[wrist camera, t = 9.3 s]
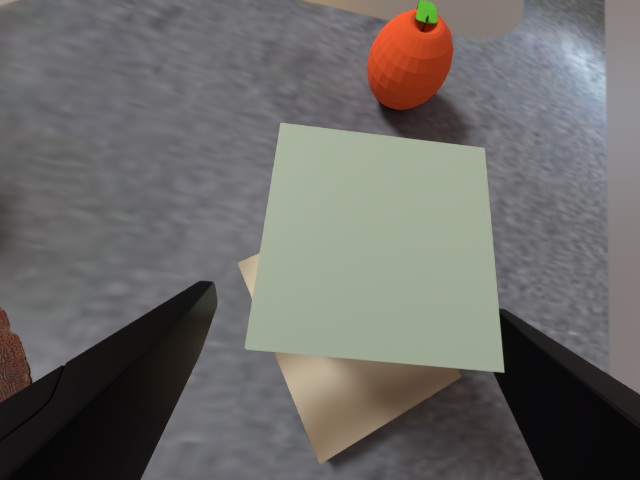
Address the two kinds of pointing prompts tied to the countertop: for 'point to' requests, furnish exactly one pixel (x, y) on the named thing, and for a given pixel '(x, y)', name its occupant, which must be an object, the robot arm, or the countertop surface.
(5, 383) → the wooden tablet
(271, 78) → the countertop surface
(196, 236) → the countertop surface
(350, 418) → the birch board
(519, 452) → the countertop surface
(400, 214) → the green block
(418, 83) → the clementine
